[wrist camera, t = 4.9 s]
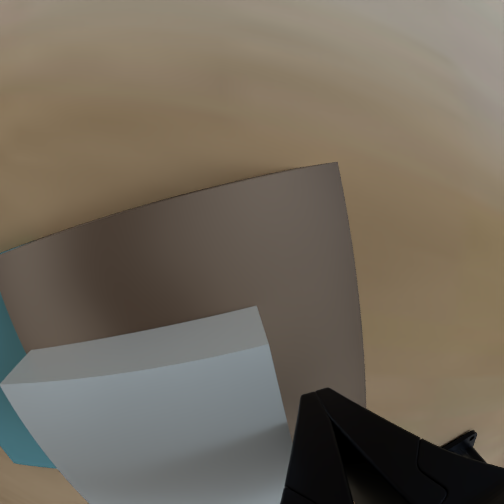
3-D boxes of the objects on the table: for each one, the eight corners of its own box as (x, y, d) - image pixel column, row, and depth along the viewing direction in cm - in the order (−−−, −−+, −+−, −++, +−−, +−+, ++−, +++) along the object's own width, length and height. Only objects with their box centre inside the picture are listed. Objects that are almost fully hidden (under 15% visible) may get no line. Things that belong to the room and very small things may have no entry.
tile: (256, 305, 8) (268, 344, 6) (292, 455, 9) (305, 498, 7) (30, 350, 8) (-1, 384, 6) (111, 477, 9) (101, 515, 7)
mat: (35, 240, 10) (28, 242, 10) (140, 463, 13) (139, 469, 13) (-76, 285, 10) (-81, 288, 9) (16, 458, 12) (14, 463, 12)
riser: (301, 167, 11) (337, 161, 7) (340, 424, 14) (365, 473, 10) (42, 237, 10) (-11, 258, 7) (147, 462, 13) (138, 514, 10)
